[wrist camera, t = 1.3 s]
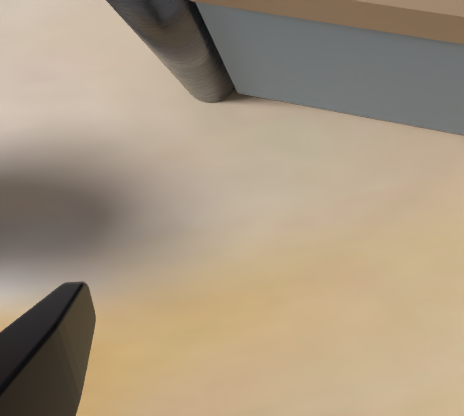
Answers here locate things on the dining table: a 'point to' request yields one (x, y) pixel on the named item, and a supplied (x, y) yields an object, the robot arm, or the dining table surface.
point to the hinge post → (179, 43)
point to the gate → (347, 55)
